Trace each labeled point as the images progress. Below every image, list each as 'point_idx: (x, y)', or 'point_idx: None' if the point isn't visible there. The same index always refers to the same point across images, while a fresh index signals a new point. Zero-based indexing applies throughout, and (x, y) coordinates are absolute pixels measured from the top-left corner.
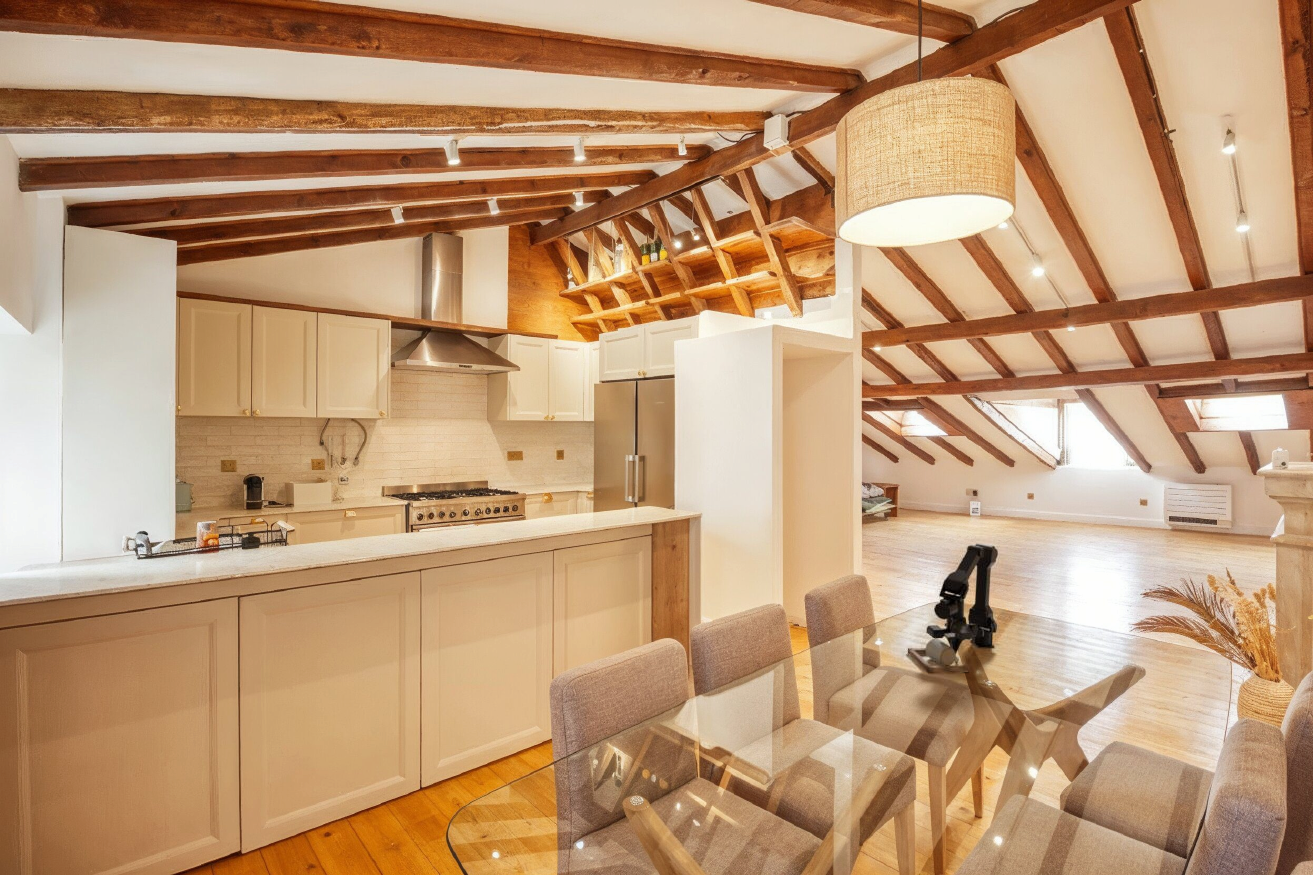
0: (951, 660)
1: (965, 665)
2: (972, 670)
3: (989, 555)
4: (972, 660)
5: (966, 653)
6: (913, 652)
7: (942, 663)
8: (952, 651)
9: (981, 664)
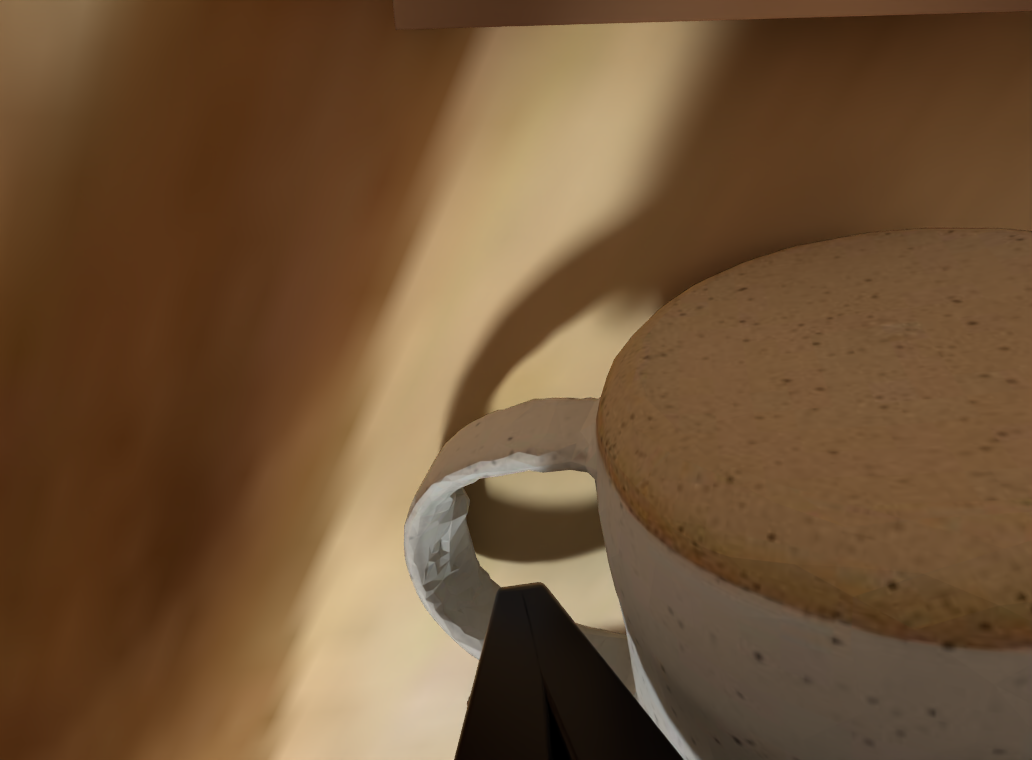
0: (735, 323)
1: (461, 5)
2: (228, 31)
3: None
4: (86, 549)
5: (136, 750)
6: None
7: (973, 232)
8: (896, 489)
9: None
